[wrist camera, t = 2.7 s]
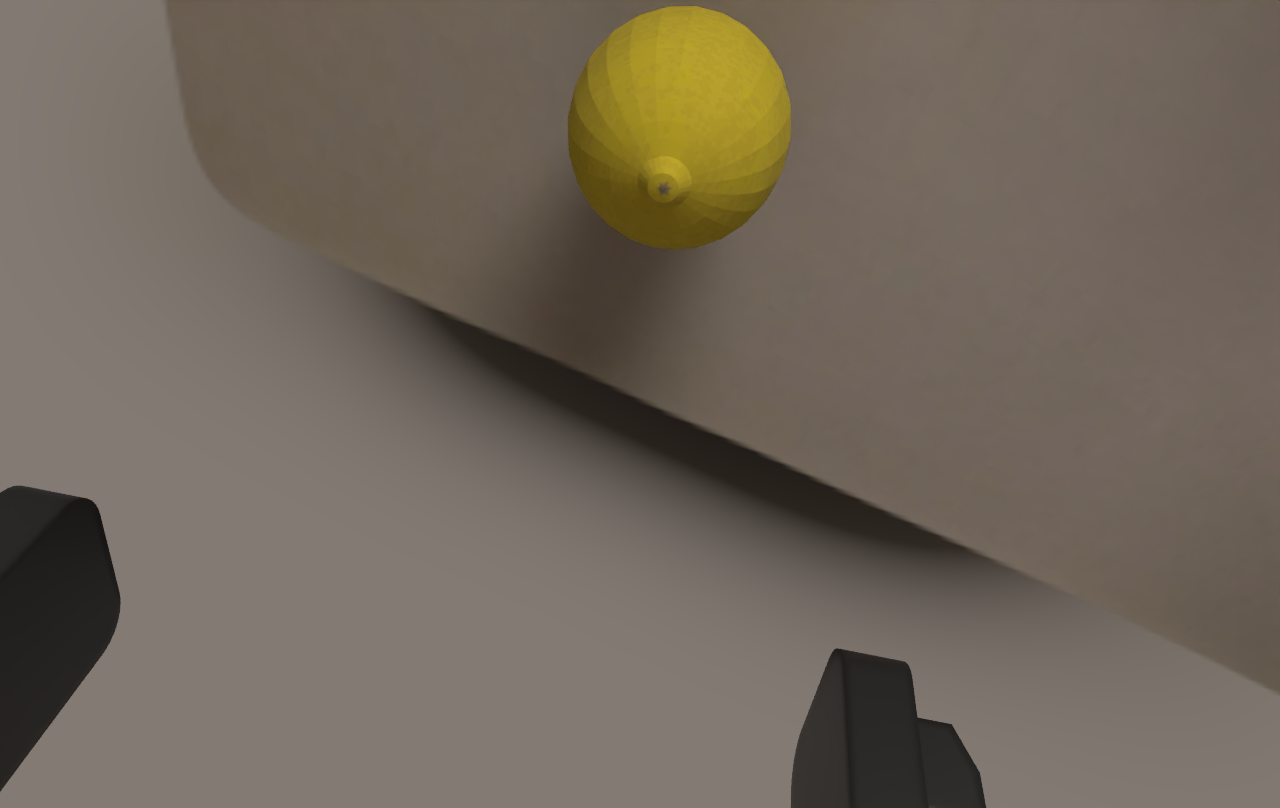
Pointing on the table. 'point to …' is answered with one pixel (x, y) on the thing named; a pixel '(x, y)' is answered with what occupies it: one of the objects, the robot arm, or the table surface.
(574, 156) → the lemon
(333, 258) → the table surface
